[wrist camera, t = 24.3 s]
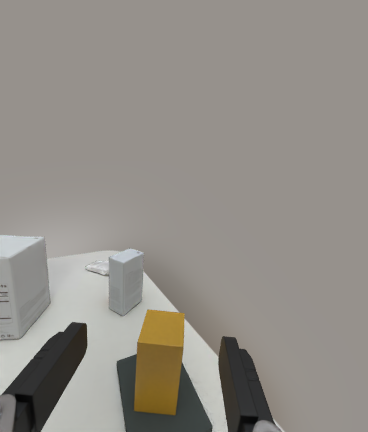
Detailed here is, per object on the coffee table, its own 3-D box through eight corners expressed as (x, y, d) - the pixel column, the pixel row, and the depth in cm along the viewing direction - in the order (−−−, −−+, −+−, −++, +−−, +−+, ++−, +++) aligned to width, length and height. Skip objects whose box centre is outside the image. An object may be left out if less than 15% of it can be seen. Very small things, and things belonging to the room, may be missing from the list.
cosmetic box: (128, 294, 44) (129, 247, 41) (142, 300, 42) (144, 252, 40) (107, 309, 39) (107, 256, 36) (122, 317, 37) (124, 262, 34)
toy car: (107, 277, 50) (107, 269, 49) (83, 270, 52) (83, 263, 52) (117, 269, 54) (118, 262, 54) (96, 263, 56) (96, 256, 56)
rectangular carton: (4, 303, 37) (-5, 233, 34) (51, 302, 39) (47, 236, 36) (-44, 342, 29) (-63, 254, 26) (19, 340, 30) (9, 256, 27)
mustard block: (175, 415, 22) (183, 346, 20) (133, 411, 22) (137, 342, 20) (177, 371, 27) (184, 313, 25) (143, 368, 27) (147, 309, 25)
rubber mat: (211, 432, 21) (212, 426, 21) (133, 486, 17) (134, 479, 17) (171, 346, 32) (172, 341, 31) (116, 366, 28) (116, 361, 27)
